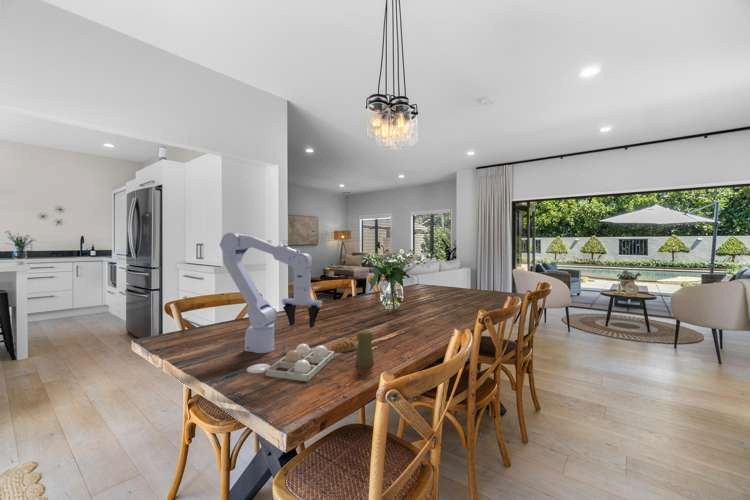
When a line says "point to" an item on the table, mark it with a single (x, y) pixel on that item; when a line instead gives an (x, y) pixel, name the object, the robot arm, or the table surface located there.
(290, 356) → the brown egg
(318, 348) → the white egg
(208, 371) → the table surface
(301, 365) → the white egg
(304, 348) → the white egg
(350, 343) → the pastry
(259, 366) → the saucer
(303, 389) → the table surface
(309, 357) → the egg carton
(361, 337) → the olive green pepper mill
